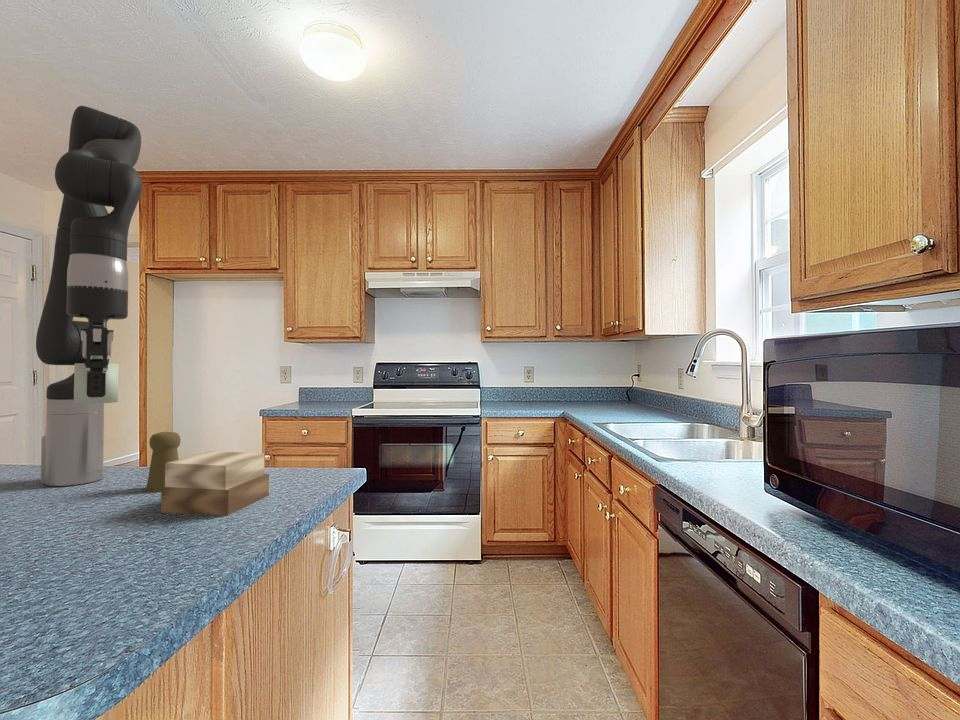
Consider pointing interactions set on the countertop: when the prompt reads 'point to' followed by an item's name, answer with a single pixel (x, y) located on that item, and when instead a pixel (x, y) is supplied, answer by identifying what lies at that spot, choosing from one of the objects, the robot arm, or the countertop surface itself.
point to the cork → (161, 458)
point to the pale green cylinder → (81, 385)
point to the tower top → (214, 470)
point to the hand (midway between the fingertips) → (96, 395)
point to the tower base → (214, 498)
